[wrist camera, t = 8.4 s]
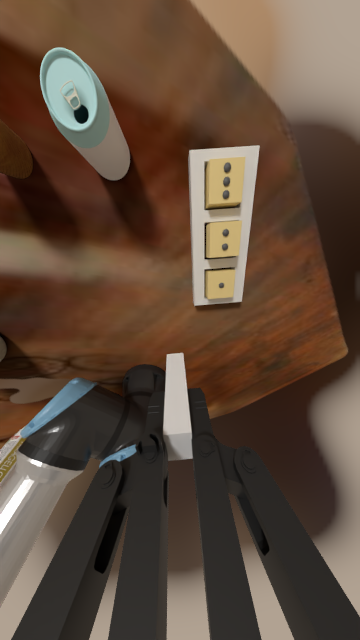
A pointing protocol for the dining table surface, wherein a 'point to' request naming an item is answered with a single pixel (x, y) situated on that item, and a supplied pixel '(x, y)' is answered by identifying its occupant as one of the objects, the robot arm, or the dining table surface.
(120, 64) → the dining table surface
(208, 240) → the two pip key
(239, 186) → the three pip key
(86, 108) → the can
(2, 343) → the canister
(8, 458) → the juice carton
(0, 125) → the disposable coffee cup
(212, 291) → the one pip key
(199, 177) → the keypad base
